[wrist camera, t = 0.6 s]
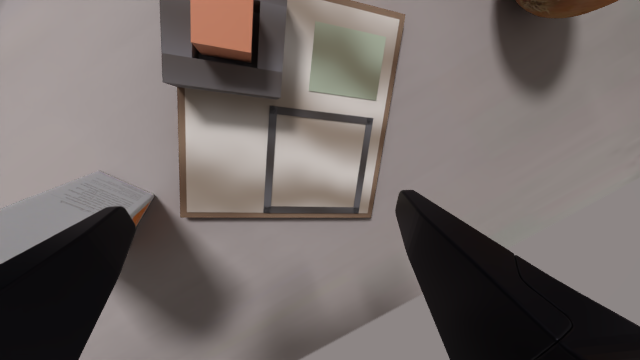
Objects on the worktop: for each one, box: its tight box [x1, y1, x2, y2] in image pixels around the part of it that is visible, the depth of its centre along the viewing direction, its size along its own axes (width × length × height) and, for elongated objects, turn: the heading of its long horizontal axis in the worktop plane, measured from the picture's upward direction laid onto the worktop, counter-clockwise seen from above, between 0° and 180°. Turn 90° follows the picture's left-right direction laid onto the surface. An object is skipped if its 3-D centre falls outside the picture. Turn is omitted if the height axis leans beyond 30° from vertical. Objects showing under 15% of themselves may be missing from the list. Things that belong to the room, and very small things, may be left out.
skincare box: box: [0, 171, 154, 264], centre depth 14 cm, size 6×4×12 cm
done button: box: [190, 0, 253, 63], centre depth 14 cm, size 3×3×3 cm
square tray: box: [160, 0, 405, 218], centre depth 19 cm, size 18×17×4 cm
